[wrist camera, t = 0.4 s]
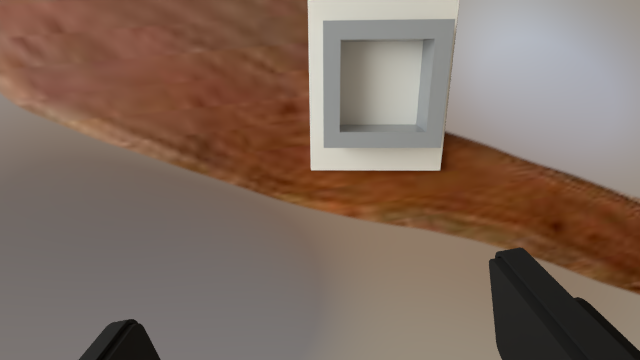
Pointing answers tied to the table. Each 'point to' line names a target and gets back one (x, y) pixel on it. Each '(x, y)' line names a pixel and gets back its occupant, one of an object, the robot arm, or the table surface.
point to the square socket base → (379, 82)
